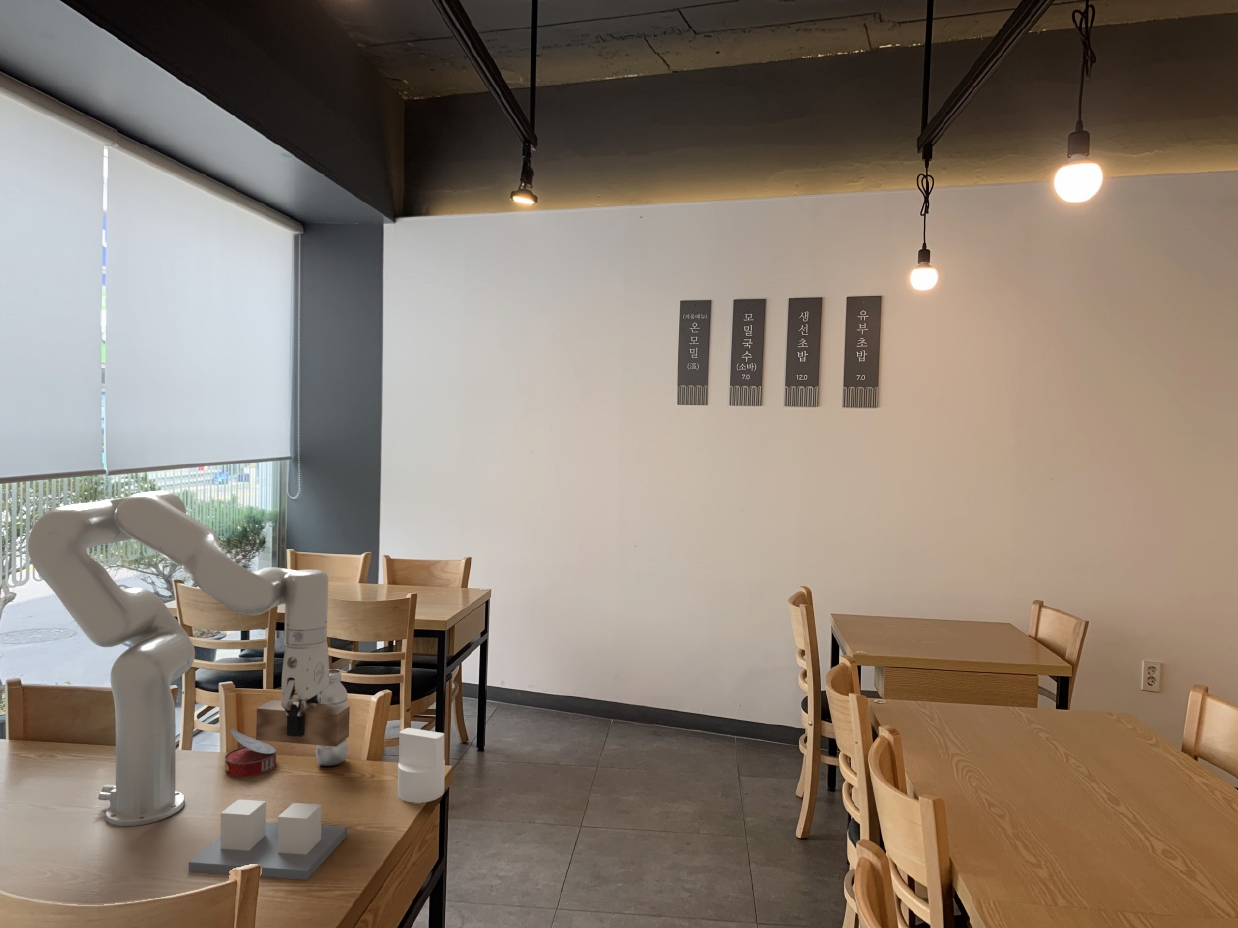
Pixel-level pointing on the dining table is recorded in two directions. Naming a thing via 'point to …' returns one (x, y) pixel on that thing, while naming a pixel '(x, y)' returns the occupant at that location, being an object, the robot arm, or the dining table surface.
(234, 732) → the canned food
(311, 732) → the beam
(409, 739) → the cylinder with rectangular tab
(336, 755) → the plastic bottle
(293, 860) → the board
